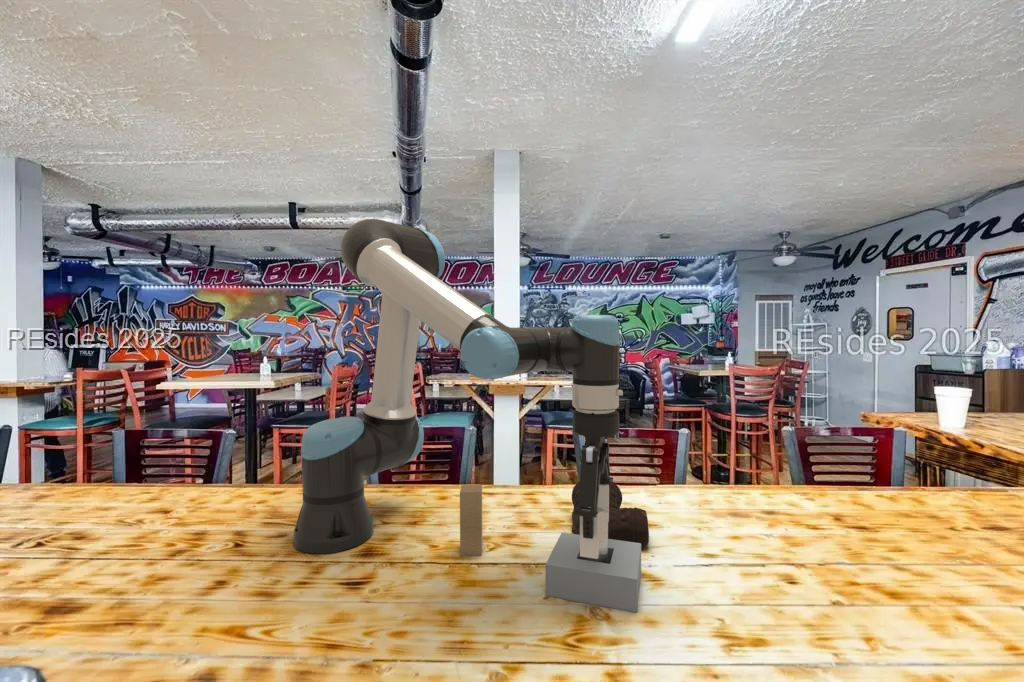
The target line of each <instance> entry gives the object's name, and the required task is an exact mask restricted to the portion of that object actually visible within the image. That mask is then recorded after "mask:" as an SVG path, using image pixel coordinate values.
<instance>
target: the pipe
mask: <svg viewBox="0 0 1024 682" xmlns="http://www.w3.org/2000/svg"><path fill="white" fill-rule="evenodd" d="M579 485H580V481H578V482H577V483H576V484H575V485H574V486H573V488H572V492H571V502H572V504H573V510H572V512H571V519H572V527H571V532H572V534H577V535H580V516H578V515H575V509H578V498H579ZM606 485H609V522H608V539H613V540H620V541H628V542H635V543H641V546H646V545H647V544H649V542H650V532H649V531H650V529H649V520H648V513H647V511H646V510H645V509H643V508H639V507H635V506H634V507H621V505H622V502H623V493H622V490H621V488H620V487H619V485H618V484H616V483H615V482H614V481H613V484H609V483H606ZM584 507H586V506H584ZM586 508H589V507H586Z"/></svg>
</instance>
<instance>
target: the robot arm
mask: <svg viewBox="0 0 1024 682" xmlns="http://www.w3.org/2000/svg"><path fill="white" fill-rule="evenodd" d="M340 255H341V259H342V261H343V263H344V265H345V267H346V268H347V270H348V271H349V272H350V273H351V275H353V276H354V277H355V278H357V279H358V280H359V281H360V282H362V284H364V285H366V286H369V287H373V288H374V287H376V289H377V290H378V291H379V292H380V293H381V295H382V296H381V297H382V298H381V306H380V312H379V313H380V317H379V323H378V324H379V325H378V334H377V344H376V353H375V363H374V371H373V372H374V373H373V382H372V391H371V398H370V399H371V400H370V402H368V403H367V404H366V405H365V406H364V407H363V410H362V418H360V417H357V416H340V417H333V418H328V419H325V420H322V421H318V422H316V423H314V424H312V425H310V426H308V428H307V429H305V431H304V432H303V434H302V439H301V447H300V448H301V449H300V455H301V456H300V457H301V466H302V467H301V472H302V473H301V478H302V479H301V481H302V482H301V483H302V505H301V508H300V510H299V515H298V517H297V522H296V525H295V527H294V529H293V546H294V547H295V548H296V549H297V550H299V551H301V552H303V553H308V554H333V553H337V552H343V551H346V550H350V549H353V548H355V547H357V546H360V545H361V544H364V543H365V542H366V541H368V540H369V539H370V538H371V537H372V535H374V518H373V516H372V515H371V512H370V509H369V505H368V503H367V500H366V496H365V478H366V477H368V476H371V475H376V474H377V473H382V472H383V471H387V470H389V469H392V468H399V467H402V466H404V465H405V464H407V463H409V462H411V461H413V460H414V459H415V458H416V457H417V456H418V455H419V454H420V453H421V450H422V448H423V445H424V438H425V434H424V433H425V430H424V427H422V426H421V425H422V422H421V420H420V418H419V417H418V416H417V410H416V409H415V408H414V407H413V405H412V404H411V401H412V394H413V393H412V392H413V384H414V375H415V367H416V359H417V357H416V356H417V348H418V343H419V342H418V341H419V332H420V324H421V322H422V323H423V324H424V325H425V326H427V327H428V328H430V329H431V330H432V331H434V332H435V333H436V334H437V335H439V336H440V337H441V338H442V339H444V340H445V341H446V342H448V343H449V344H450V345H451V346H453V347H454V348H455V349H457V350H458V351H459V352H460V358H461V362H462V363H463V365H464V367H465V370H466V371H467V372H468V373H469V374H470V375H471V376H473V377H475V378H477V379H482V380H485V379H490V380H497V379H503V378H505V377H506V378H507V377H511V376H515V375H521V374H522V375H523V374H529V373H536V372H542V371H545V372H546V371H548V372H551V371H553V372H569V373H570V372H572V393H571V396H572V399H571V400H572V401H571V402H572V404H571V405H572V407H574V410H573V411H572V431H573V433H574V434H576V435H579V436H582V437H585V441H584V445H582V446H581V449H580V453H581V455H580V457H581V458H580V460H581V461H580V463H581V464H580V471H579V473H580V474H579V475H580V476H579V482H580V485H579V498H578V509H575V515H578V516H580V556H581V557H588V558H594V559H598V556H599V514H598V511H597V507H599V508H603V509H605V510H607V511H608V522H609V485H606V483H609V484H613V482H614V477H611V474H612V473H611V468H610V454H609V453H610V452H609V451H610V443H609V438H611V437H614V436H617V435H618V434H619V433H620V412H618V410H617V409H618V408H619V407H620V397H621V396H623V395H624V391H623V389H619V387H620V385H619V384H620V347H621V341H620V327H619V321H618V319H617V317H616V316H614V315H611V314H588V315H587V314H586V315H585V314H584V315H574V317H573V319H572V324H571V326H568V327H550V326H549V327H548V326H547V327H546V326H545V327H541V326H539V327H536V326H525V327H510V326H508V325H505V324H504V323H503V322H501V321H500V320H499V319H497V318H495V317H493V316H492V315H491V314H489V312H487V311H485V310H484V309H483V308H481V307H480V306H479V305H477V304H476V303H474V302H472V301H471V300H470V299H468V297H465V296H464V295H462V294H461V293H459V292H458V291H457V290H455V289H454V288H452V287H451V286H449V285H448V284H447V283H445V282H444V281H442V280H441V279H439V278H440V277H441V276H442V275H443V273H444V270H445V265H446V256H445V250H444V248H443V246H442V243H441V242H440V241H439V238H437V236H435V235H434V234H433V233H431V232H429V231H426V230H424V229H421V228H419V227H413V226H408V225H404V224H400V223H399V224H398V223H394V222H390V221H386V220H384V219H378V218H366V219H363V220H359V221H357V222H355V223H354V224H352V225H351V226H350V227H349V228H348V229H347V231H345V233H344V235H343V237H342V239H341V243H340ZM584 506H586V507H591V508H586V507H584Z"/></svg>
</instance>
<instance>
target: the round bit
mask: <svg viewBox="0 0 1024 682" xmlns="http://www.w3.org/2000/svg"><path fill="white" fill-rule="evenodd" d="M589 508H591V507H589ZM597 511H598V514H599V556H598V559H594V558H588V557H583V560H588V561H594V562H601V563H607V564H608V511H607V510H605V509H603V508H599V507H597Z"/></svg>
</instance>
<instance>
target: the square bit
mask: <svg viewBox="0 0 1024 682" xmlns="http://www.w3.org/2000/svg"><path fill="white" fill-rule="evenodd" d="M483 531H484V530H483V484H461V486H460V491H459V553H460V554H459V556H460V557H480V556H481V557H482V556H483V543H484V542H483V539H484V537H483V536H484V535H483Z"/></svg>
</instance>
